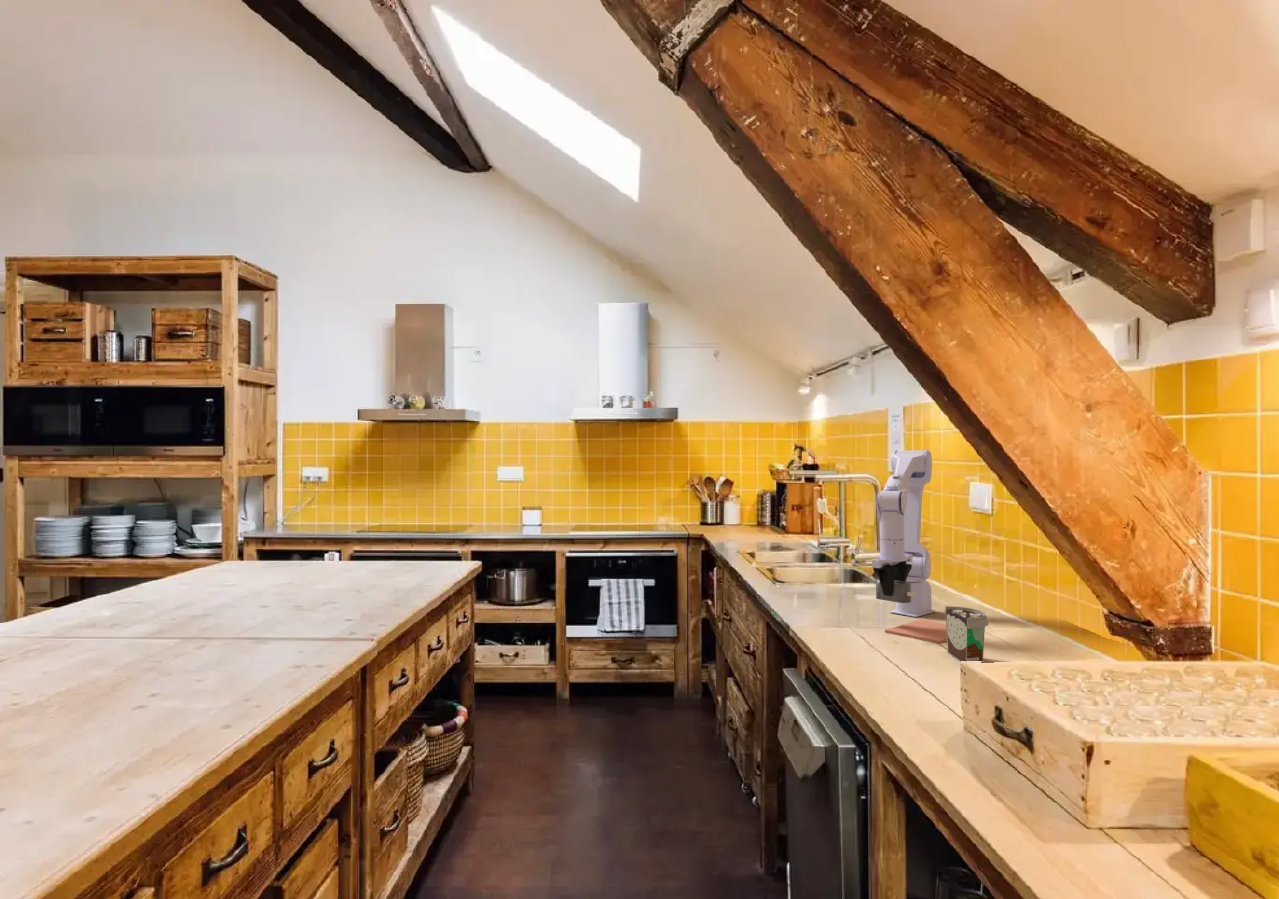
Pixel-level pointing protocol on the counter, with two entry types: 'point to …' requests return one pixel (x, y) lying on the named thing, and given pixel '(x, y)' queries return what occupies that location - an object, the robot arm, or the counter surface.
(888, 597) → the plug
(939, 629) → the mat
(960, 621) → the food container
